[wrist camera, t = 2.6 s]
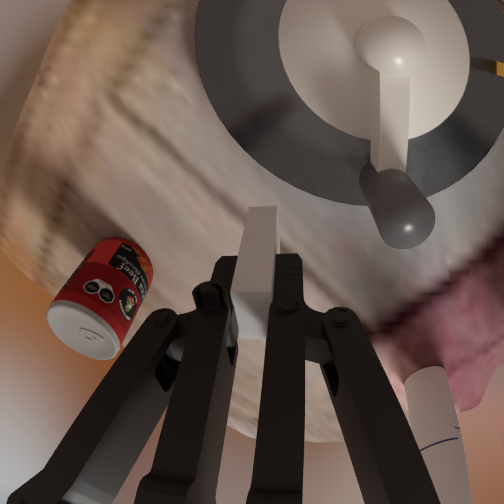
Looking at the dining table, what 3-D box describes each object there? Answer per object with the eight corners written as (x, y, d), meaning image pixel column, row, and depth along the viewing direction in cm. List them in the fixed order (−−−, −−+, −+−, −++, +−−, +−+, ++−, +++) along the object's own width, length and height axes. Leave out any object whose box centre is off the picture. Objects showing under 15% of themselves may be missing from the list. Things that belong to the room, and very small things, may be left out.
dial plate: (488, -53, 10) (501, -57, 8) (487, 199, 25) (498, 210, 23) (186, -76, 14) (178, -85, 12) (224, 199, 29) (219, 211, 27)
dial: (268, -40, 14) (258, -80, 8) (455, -21, 12) (511, -36, 6) (290, 195, 25) (290, 251, 19) (450, 196, 23) (491, 247, 17)
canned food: (164, 288, 36) (130, 364, 27) (109, 289, 37) (70, 356, 28) (142, 231, 32) (93, 306, 23) (84, 238, 33) (32, 303, 24)
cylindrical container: (417, 365, 40) (442, 525, 20) (453, 366, 40) (483, 512, 20) (396, 390, 44) (411, 534, 24) (430, 390, 44) (450, 524, 24)
